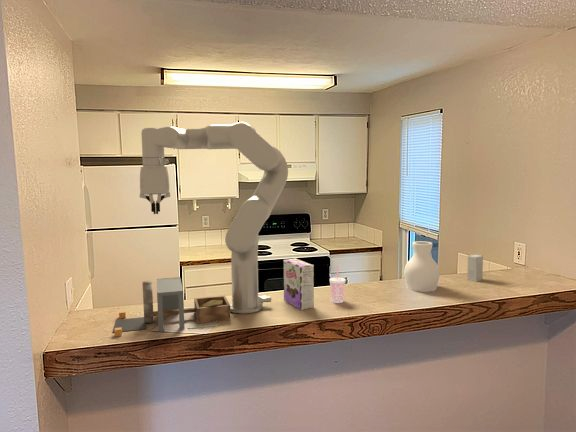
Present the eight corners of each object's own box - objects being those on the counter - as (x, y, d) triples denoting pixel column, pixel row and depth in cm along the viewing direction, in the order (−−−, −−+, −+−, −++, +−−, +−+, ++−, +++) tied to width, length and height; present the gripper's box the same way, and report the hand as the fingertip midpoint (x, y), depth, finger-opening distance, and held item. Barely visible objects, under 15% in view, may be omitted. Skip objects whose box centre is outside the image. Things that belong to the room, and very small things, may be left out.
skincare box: (473, 280, 198) (474, 254, 196) (482, 282, 194) (483, 255, 193) (466, 282, 194) (467, 255, 192) (475, 284, 190) (476, 257, 189)
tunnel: (211, 307, 162) (210, 274, 161) (219, 325, 143) (218, 288, 142) (116, 316, 153) (114, 281, 152) (111, 337, 134) (108, 297, 133)
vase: (425, 296, 173) (426, 246, 171) (396, 289, 184) (397, 242, 182) (446, 290, 182) (447, 243, 179) (417, 283, 193) (418, 238, 191)
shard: (219, 311, 157) (217, 307, 158) (235, 303, 154) (233, 299, 155) (198, 312, 148) (197, 306, 149) (215, 303, 145) (213, 298, 146)
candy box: (283, 301, 169) (282, 259, 168) (296, 298, 172) (296, 257, 170) (300, 311, 157) (300, 266, 155) (314, 308, 160) (314, 264, 158)
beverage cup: (327, 304, 165) (327, 267, 163) (331, 299, 171) (331, 264, 169) (344, 305, 163) (344, 268, 162) (346, 300, 169) (346, 265, 167)
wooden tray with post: (225, 309, 160) (224, 271, 158) (230, 319, 148) (229, 279, 147) (144, 317, 152) (142, 278, 150) (143, 329, 141) (141, 286, 139)
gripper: (174, 163, 163) (176, 212, 165) (132, 163, 159) (134, 213, 161) (175, 162, 156) (177, 214, 158) (131, 162, 152) (133, 215, 153)
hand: (155, 213), depth 159 cm, fingers closed
